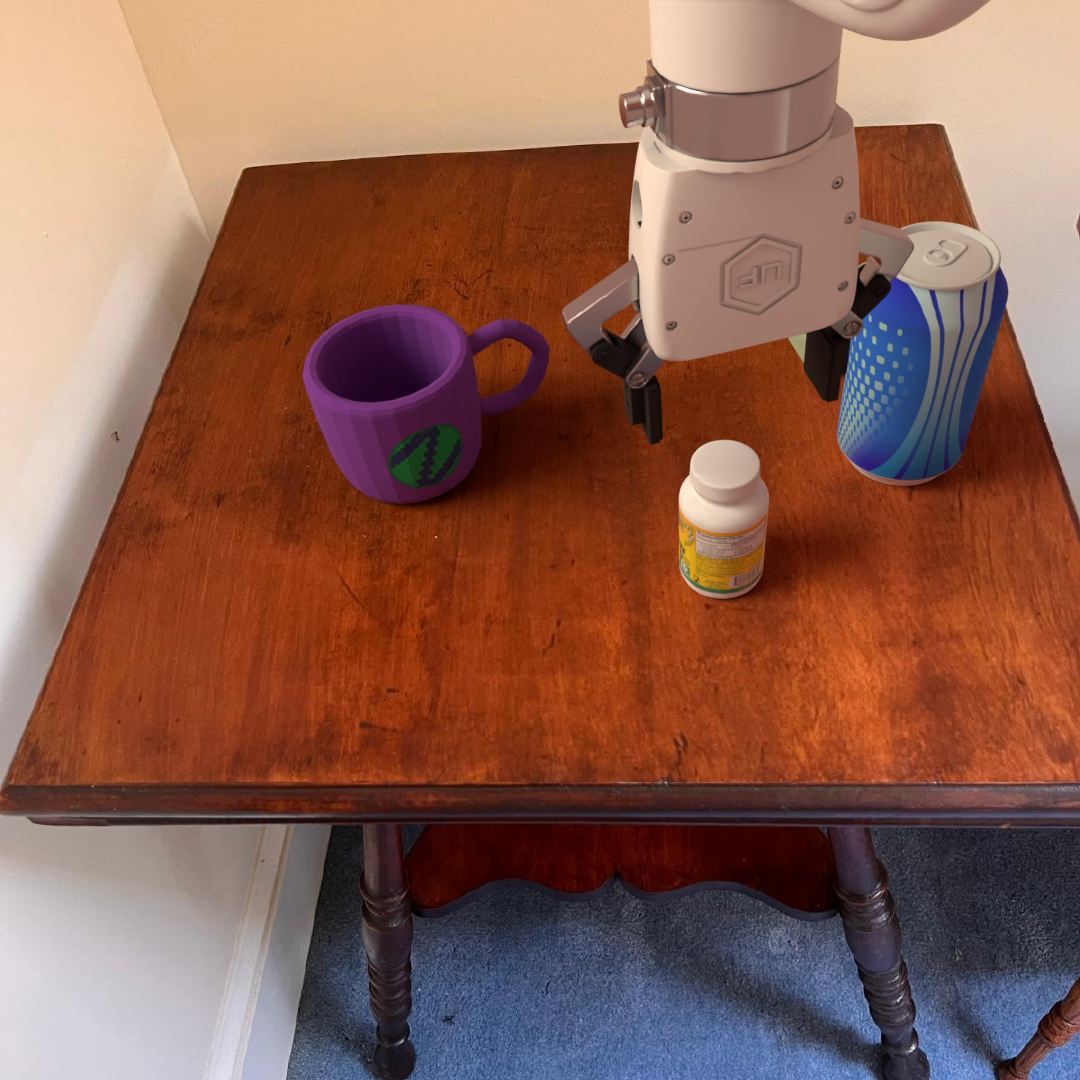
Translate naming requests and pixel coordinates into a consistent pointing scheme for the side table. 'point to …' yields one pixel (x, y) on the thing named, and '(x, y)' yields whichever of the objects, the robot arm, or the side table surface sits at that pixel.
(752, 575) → the supplement bottle
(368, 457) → the mug
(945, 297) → the beer can
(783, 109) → the robot arm
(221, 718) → the side table surface
